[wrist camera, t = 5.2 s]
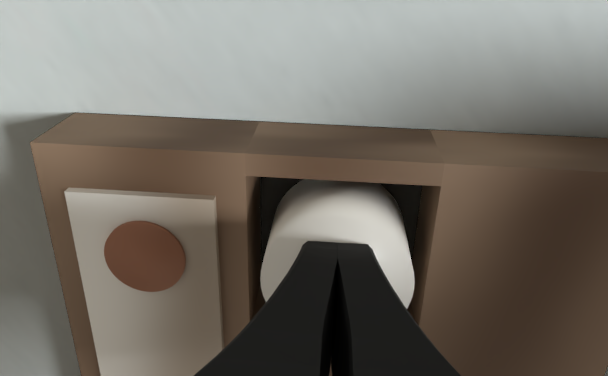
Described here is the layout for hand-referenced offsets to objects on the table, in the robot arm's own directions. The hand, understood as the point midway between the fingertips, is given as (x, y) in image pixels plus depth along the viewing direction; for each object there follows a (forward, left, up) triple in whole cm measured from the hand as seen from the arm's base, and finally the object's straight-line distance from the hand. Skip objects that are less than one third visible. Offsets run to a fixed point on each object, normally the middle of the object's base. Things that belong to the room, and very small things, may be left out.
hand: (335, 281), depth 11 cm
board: (0, +6, -3) cm, 7 cm away
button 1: (0, 0, -2) cm, 2 cm away
